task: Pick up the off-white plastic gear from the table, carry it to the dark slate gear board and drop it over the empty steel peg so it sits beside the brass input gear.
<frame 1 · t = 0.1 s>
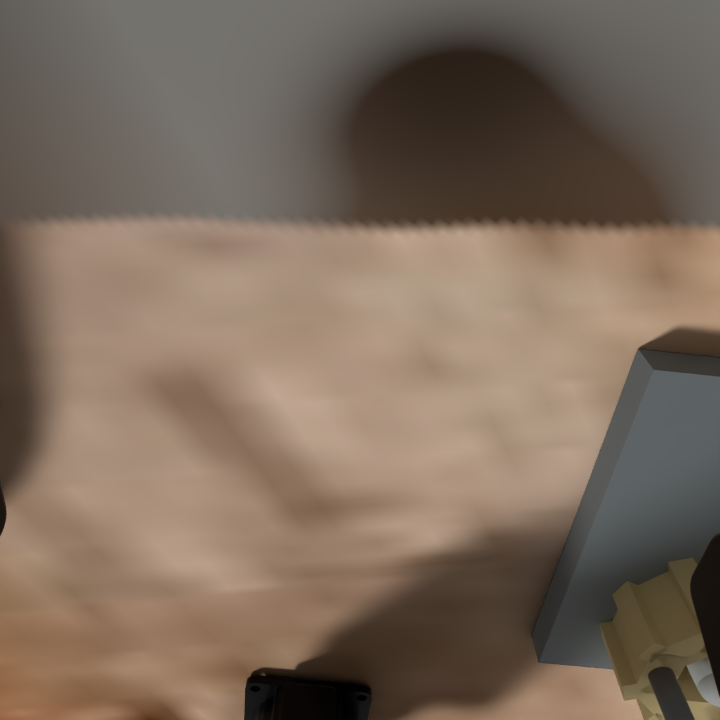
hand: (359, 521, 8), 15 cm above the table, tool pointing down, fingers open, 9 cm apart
gear board: (702, 524, 27), on the table
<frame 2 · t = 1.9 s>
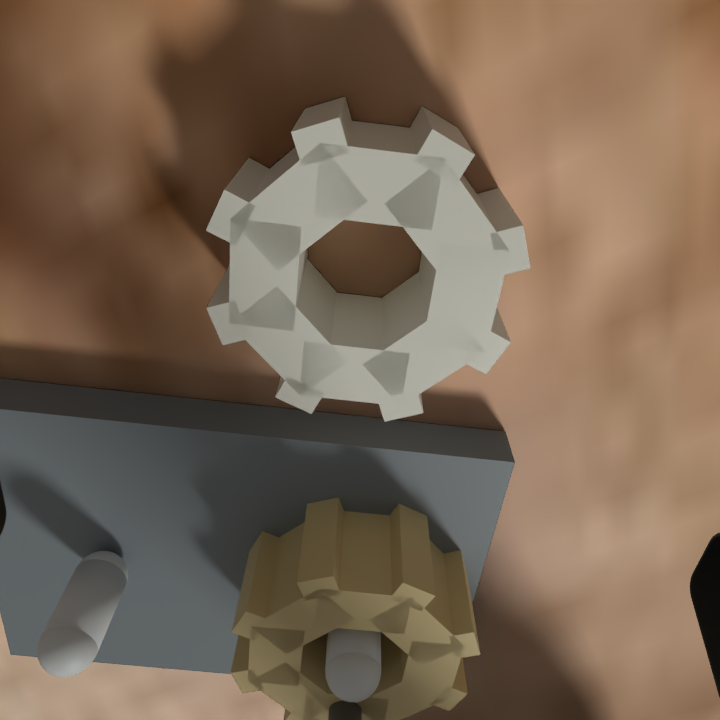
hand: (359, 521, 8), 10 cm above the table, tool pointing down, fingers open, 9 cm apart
gear board: (242, 535, 22), on the table
loose gear: (366, 243, 17), on the table
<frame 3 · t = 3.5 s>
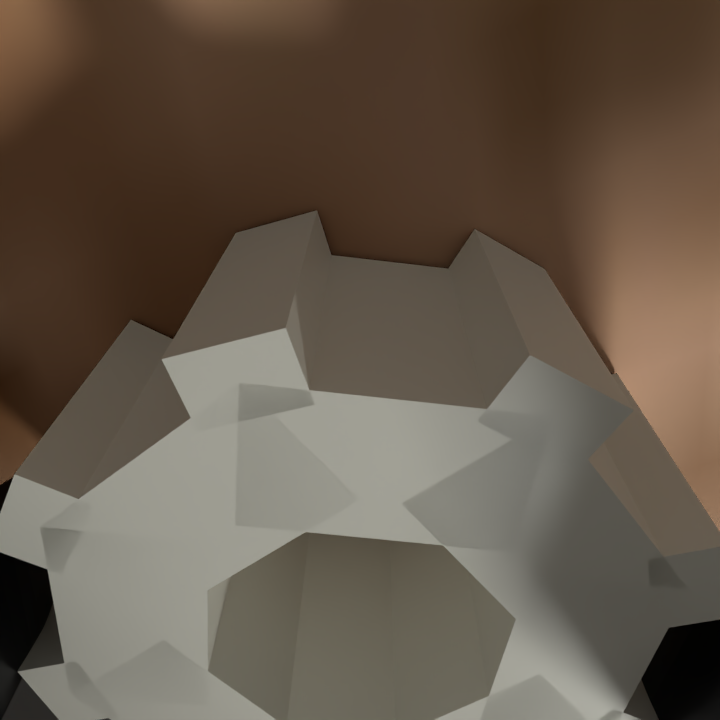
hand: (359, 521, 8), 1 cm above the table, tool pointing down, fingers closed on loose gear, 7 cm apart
loose gear: (361, 459, 9), on the table, touching gripper
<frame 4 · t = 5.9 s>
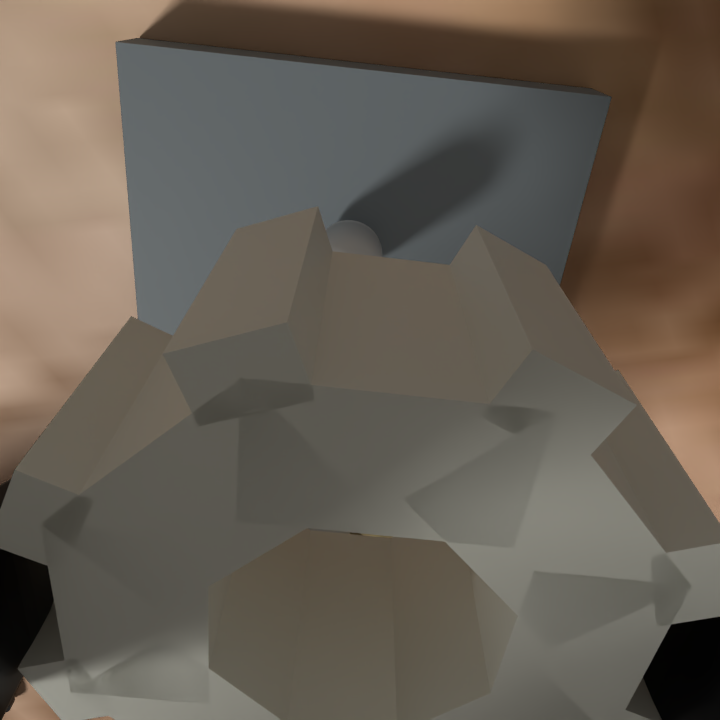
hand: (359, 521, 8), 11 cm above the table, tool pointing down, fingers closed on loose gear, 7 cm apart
gear board: (339, 352, 19), on the table
loose gear: (361, 457, 9), point 10 cm above the table, touching gripper
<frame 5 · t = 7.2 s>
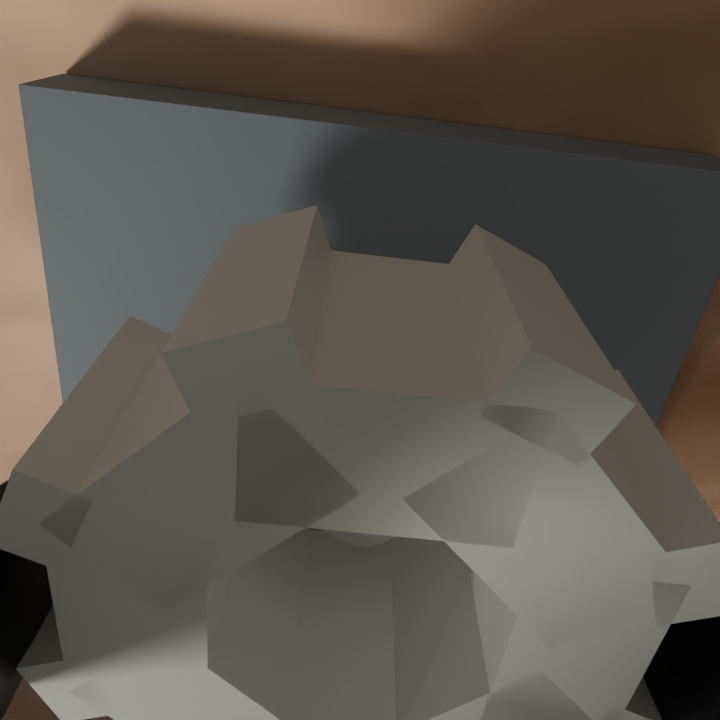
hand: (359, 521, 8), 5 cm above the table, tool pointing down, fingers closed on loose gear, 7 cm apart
gear board: (346, 482, 15), on the table
loose gear: (361, 456, 9), point 4 cm above the table, touching gripper
when the fingers open (4 cm above the table, at t = 8.4 s): loose gear drops 2 cm, resting on gear board.
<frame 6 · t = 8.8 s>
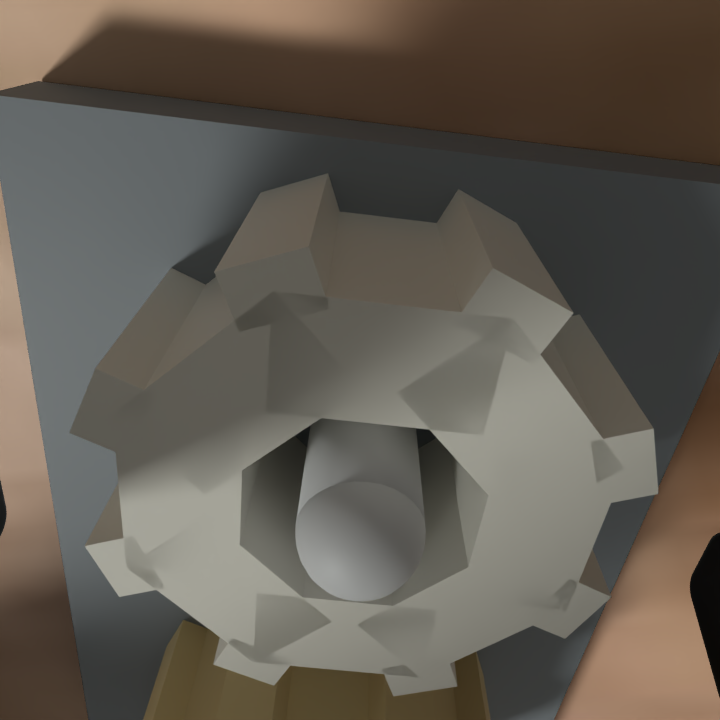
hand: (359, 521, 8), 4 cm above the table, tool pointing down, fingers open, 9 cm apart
gear board: (343, 509, 14), on the table
loose gear: (363, 392, 11), point 1 cm above the table, touching gear board
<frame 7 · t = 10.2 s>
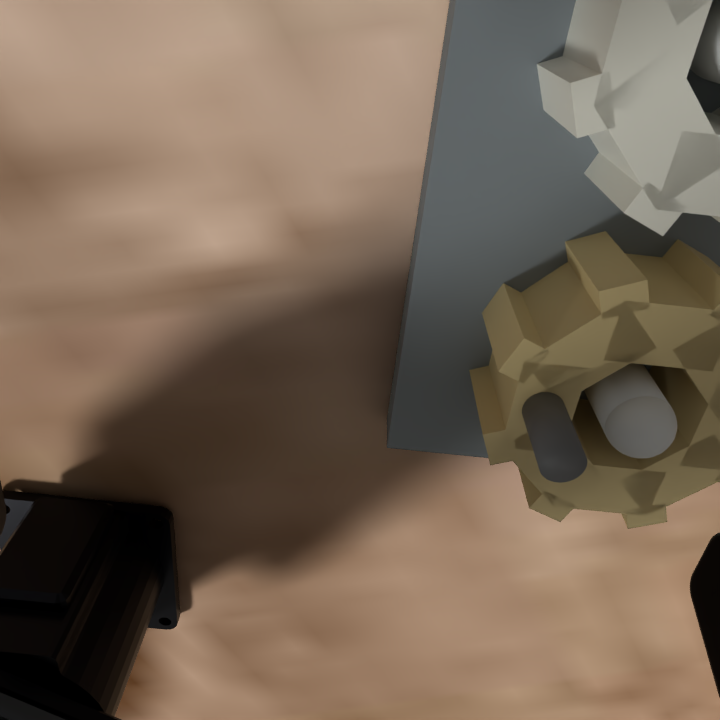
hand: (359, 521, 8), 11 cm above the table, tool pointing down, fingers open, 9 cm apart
gear board: (628, 198, 17), on the table
loose gear: (709, 36, 14), point 1 cm above the table, touching gear board
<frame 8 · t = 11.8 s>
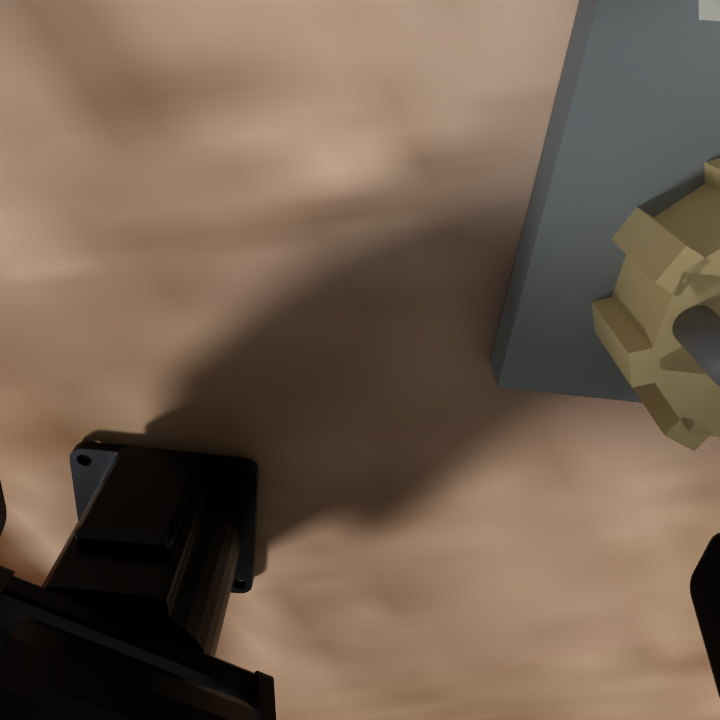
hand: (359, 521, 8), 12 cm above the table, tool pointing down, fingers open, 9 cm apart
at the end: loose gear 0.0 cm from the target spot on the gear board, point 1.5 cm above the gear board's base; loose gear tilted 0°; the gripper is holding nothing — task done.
